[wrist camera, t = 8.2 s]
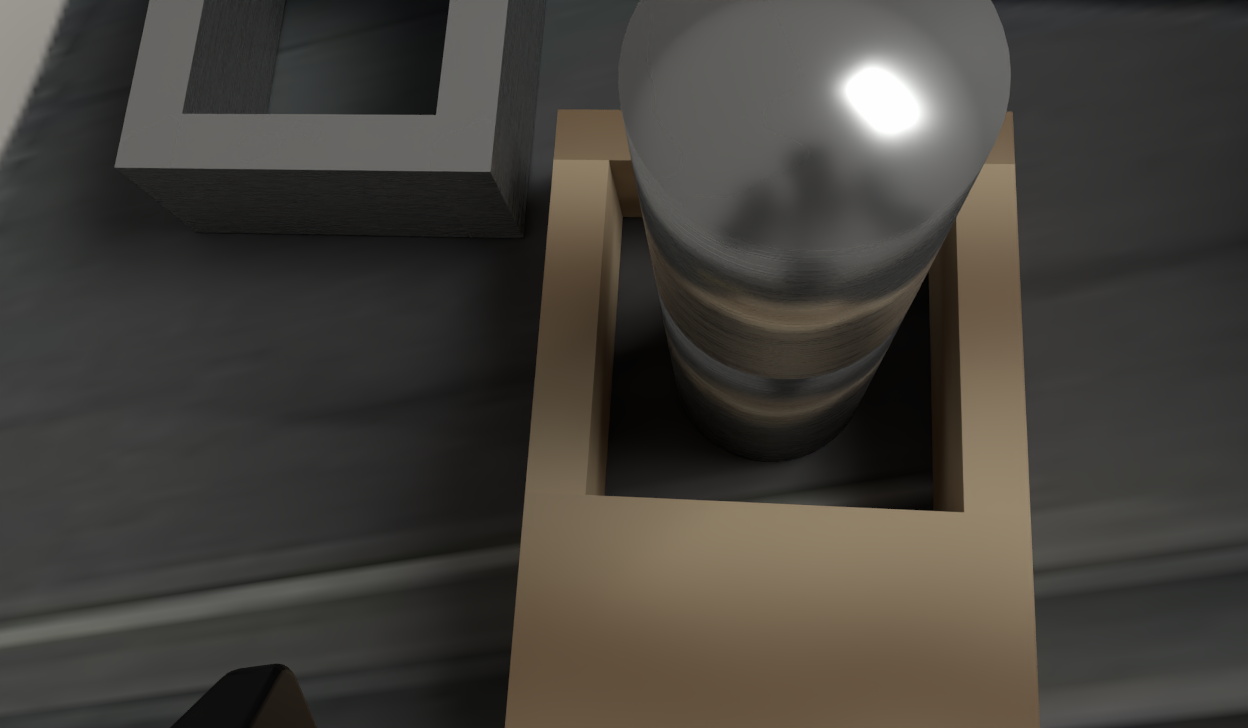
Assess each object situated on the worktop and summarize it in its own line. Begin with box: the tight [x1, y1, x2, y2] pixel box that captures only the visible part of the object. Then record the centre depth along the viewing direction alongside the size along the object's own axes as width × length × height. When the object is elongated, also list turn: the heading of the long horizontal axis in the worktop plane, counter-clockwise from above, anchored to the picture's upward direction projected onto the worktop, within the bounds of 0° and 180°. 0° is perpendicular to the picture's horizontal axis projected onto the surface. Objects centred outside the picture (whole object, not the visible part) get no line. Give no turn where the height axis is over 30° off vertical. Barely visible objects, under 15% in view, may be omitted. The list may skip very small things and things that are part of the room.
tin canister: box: [618, 0, 1011, 461], centre depth 15 cm, size 4×4×10 cm
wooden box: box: [505, 110, 1040, 728], centre depth 18 cm, size 14×8×2 cm, turn 177°
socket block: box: [114, 0, 545, 238], centre depth 21 cm, size 7×7×3 cm
